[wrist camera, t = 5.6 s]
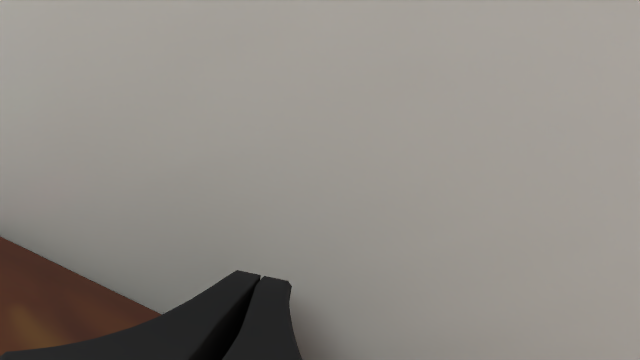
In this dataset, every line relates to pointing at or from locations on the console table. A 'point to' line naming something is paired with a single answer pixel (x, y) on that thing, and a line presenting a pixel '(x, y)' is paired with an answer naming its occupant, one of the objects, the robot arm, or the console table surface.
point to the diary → (56, 304)
